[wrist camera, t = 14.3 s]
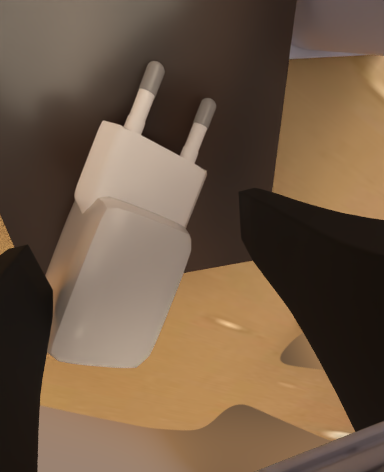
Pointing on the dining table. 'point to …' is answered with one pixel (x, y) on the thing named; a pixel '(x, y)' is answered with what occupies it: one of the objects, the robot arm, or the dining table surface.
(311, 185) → the dining table surface
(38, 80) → the stool
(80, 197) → the power adapter
